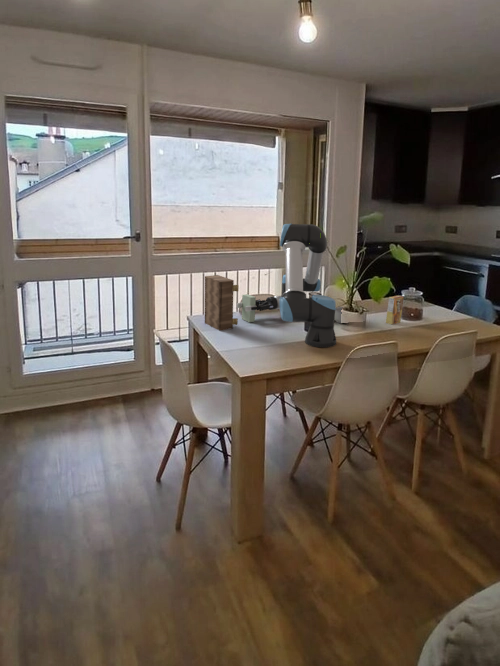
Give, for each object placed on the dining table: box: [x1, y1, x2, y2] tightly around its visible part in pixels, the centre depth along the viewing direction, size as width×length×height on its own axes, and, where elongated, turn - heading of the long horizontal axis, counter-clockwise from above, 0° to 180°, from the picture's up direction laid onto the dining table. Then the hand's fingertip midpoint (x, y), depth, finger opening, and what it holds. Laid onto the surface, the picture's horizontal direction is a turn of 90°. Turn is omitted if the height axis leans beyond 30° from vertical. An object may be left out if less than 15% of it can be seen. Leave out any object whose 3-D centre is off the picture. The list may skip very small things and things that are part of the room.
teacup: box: [334, 306, 344, 324], centre depth 278 cm, size 14×11×8 cm
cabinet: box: [204, 274, 239, 331], centre depth 259 cm, size 18×10×26 cm, turn 34°
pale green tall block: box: [241, 293, 257, 323], centre depth 273 cm, size 8×4×14 cm, turn 34°
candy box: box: [385, 295, 405, 325], centre depth 278 cm, size 9×4×15 cm, turn 129°
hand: (241, 307), depth 270 cm, fingers closed on pale green tall block, 8 cm apart
